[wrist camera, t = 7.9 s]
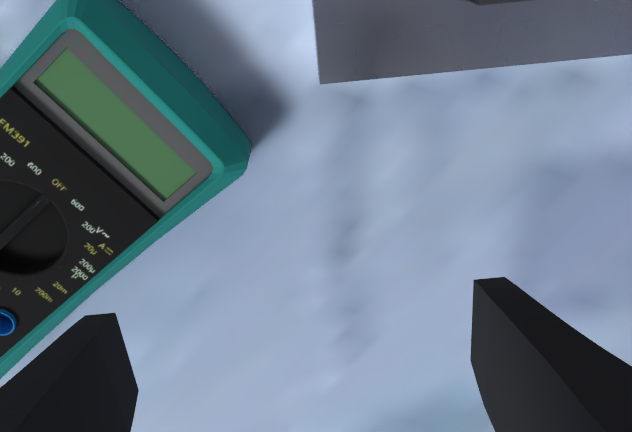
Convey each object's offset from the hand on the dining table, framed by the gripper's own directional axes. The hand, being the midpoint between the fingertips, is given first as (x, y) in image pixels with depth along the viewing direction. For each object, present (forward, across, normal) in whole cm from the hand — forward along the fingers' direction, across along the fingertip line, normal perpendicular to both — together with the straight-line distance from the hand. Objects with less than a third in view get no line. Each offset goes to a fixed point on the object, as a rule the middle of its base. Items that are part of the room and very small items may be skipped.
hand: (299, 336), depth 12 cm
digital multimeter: (+11, +9, 0) cm, 14 cm away
